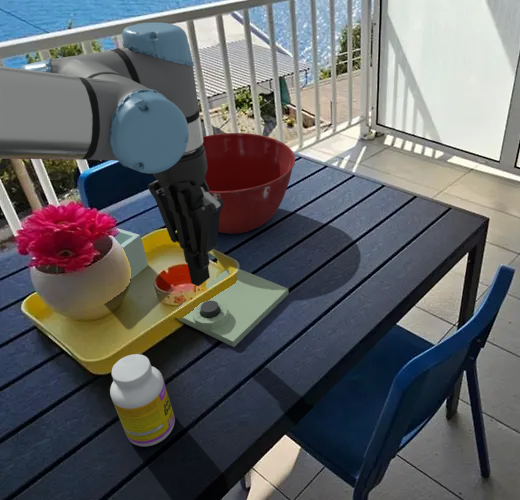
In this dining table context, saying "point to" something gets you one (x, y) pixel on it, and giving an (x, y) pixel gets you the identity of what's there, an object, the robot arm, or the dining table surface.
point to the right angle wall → (133, 250)
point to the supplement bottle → (141, 400)
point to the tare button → (209, 309)
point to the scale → (237, 307)
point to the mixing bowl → (247, 178)
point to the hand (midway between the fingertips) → (200, 280)
